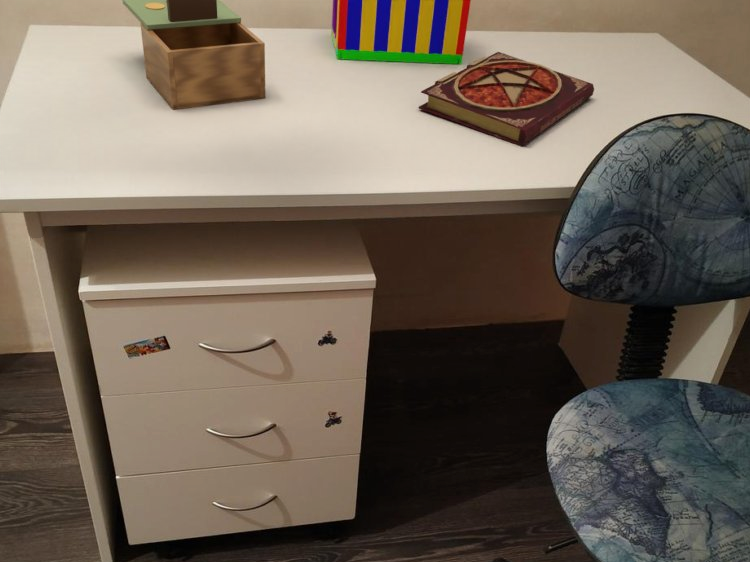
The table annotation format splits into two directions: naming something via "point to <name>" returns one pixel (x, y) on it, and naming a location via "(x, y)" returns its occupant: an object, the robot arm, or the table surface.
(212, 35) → the wooden open box
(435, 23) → the toy house
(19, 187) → the table surface
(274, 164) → the table surface
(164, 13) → the lid
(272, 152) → the table surface
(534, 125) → the book
